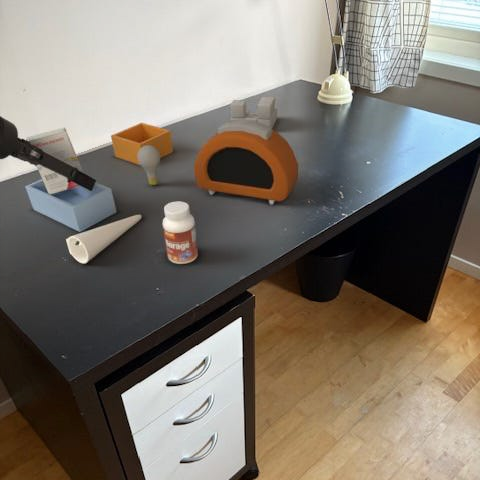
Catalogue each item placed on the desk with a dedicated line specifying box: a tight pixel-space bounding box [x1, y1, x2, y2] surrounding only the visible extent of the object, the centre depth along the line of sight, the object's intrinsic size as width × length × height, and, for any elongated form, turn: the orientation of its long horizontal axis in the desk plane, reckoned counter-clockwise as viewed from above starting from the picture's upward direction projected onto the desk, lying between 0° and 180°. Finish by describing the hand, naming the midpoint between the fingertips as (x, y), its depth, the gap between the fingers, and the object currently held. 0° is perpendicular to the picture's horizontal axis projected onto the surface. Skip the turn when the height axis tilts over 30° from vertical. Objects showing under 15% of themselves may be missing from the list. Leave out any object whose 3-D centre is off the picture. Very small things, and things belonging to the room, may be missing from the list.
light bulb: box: [137, 145, 161, 186], centre depth 117 cm, size 6×6×10 cm
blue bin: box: [24, 178, 117, 233], centre depth 110 cm, size 18×11×6 cm, turn 52°
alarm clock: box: [193, 120, 299, 205], centre depth 110 cm, size 23×9×17 cm, turn 68°
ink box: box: [25, 127, 84, 194], centre depth 104 cm, size 9×5×12 cm, turn 112°
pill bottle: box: [162, 200, 199, 265], centre depth 93 cm, size 6×6×11 cm
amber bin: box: [110, 122, 174, 166], centre depth 133 cm, size 12×12×6 cm
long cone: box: [65, 214, 142, 264], centre depth 100 cm, size 6×6×19 cm
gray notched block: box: [230, 96, 278, 130], centre depth 146 cm, size 12×12×8 cm
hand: (76, 178), depth 109 cm, fingers open, 11 cm apart
